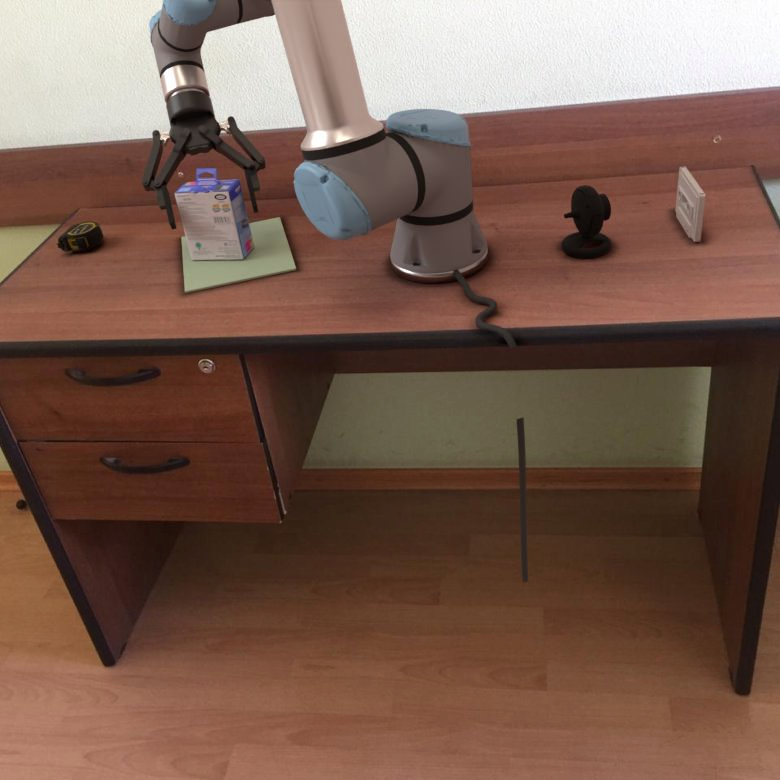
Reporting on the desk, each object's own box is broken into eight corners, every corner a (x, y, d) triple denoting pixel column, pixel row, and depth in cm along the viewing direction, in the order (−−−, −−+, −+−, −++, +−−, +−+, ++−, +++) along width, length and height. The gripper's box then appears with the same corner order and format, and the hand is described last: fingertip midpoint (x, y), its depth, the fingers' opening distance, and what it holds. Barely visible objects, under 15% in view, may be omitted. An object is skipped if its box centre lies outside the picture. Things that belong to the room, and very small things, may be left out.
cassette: (703, 242, 126) (709, 194, 122) (691, 243, 126) (696, 195, 122) (683, 210, 136) (688, 165, 132) (672, 211, 136) (676, 166, 132)
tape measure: (78, 239, 155) (71, 220, 153) (112, 237, 154) (105, 219, 152) (60, 255, 150) (53, 236, 148) (95, 254, 148) (88, 235, 146)
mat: (296, 270, 134) (296, 268, 134) (185, 293, 132) (184, 291, 132) (280, 219, 152) (279, 216, 152) (181, 238, 150) (181, 236, 150)
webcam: (620, 252, 127) (623, 190, 121) (575, 263, 125) (576, 201, 120) (596, 233, 133) (598, 173, 127) (553, 243, 132) (553, 183, 126)
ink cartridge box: (256, 245, 143) (237, 164, 134) (245, 260, 138) (225, 177, 130) (203, 246, 145) (181, 166, 137) (190, 261, 141) (168, 179, 132)
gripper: (263, 99, 145) (290, 211, 141) (118, 125, 142) (142, 241, 138) (260, 75, 137) (288, 193, 134) (107, 102, 134) (132, 223, 131)
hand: (214, 217), depth 136 cm, fingers open, 13 cm apart
